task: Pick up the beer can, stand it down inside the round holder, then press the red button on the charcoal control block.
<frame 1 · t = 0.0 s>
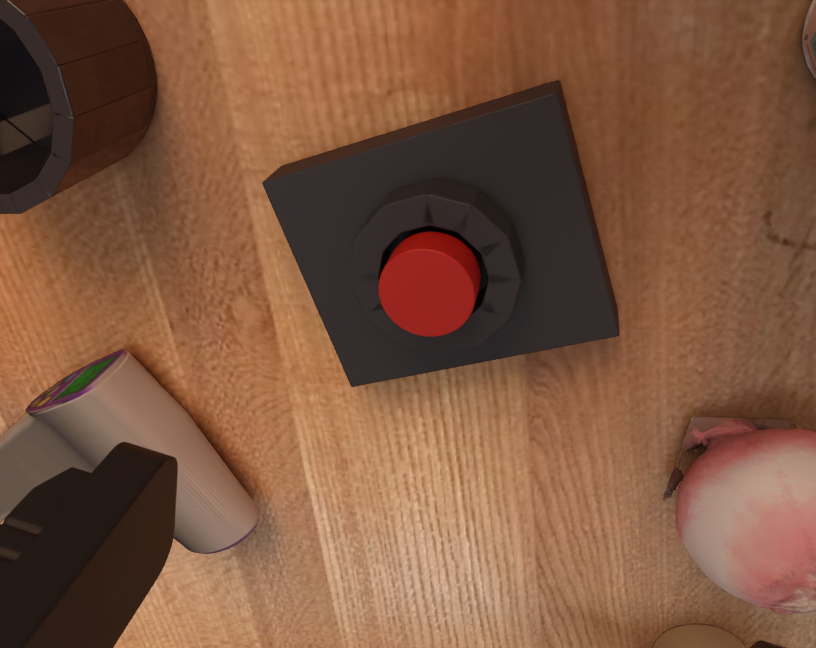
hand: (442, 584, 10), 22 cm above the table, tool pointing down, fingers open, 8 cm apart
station: (449, 238, 32), on the table
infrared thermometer: (122, 465, 43), on the table
button: (430, 284, 28), point 4 cm above the table, slide at 0.1 cm
onion: (753, 455, 34), on the table
holder: (60, 66, 32), on the table
mug: (678, 647, 41), on the table
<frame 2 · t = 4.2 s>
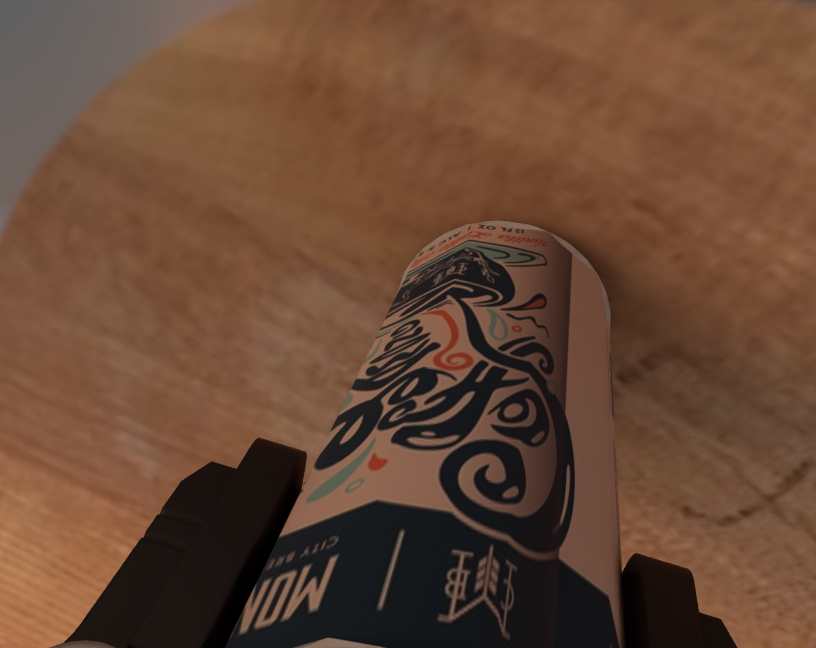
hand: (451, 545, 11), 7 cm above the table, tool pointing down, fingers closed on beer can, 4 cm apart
beer can: (503, 306, 17), on the table, touching gripper
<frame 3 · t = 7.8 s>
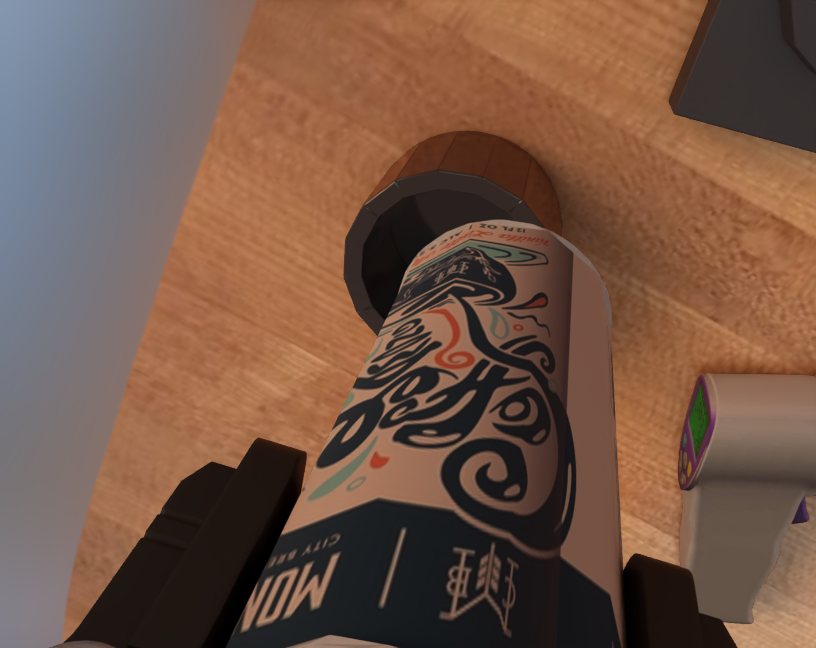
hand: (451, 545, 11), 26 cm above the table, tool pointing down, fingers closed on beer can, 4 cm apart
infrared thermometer: (794, 482, 39), on the table
holder: (467, 222, 36), on the table
beer can: (504, 305, 17), point 18 cm above the table, touching gripper
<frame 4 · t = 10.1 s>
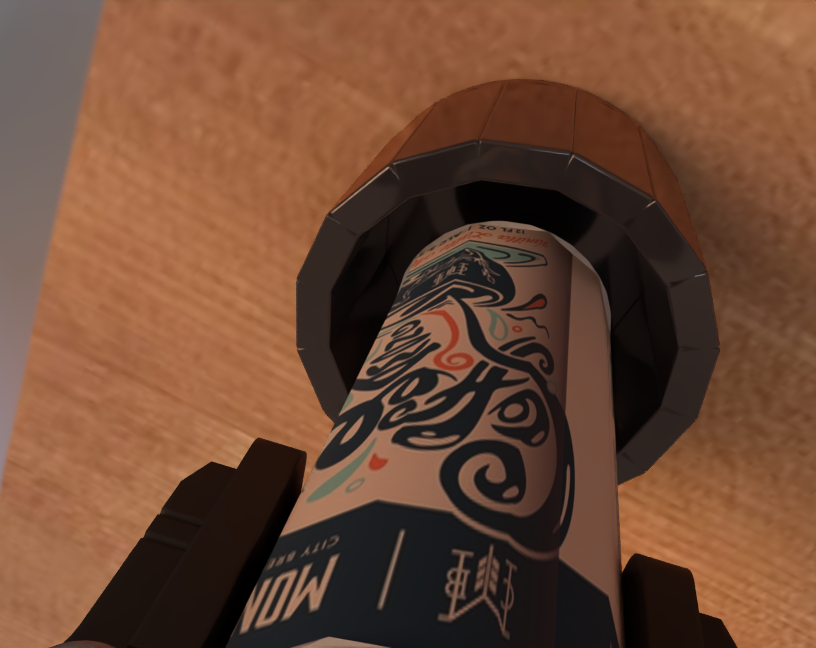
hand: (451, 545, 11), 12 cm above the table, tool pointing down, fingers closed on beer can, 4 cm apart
holder: (516, 240, 21), on the table
beer can: (503, 306, 17), point 4 cm above the table, touching gripper
when the fingers open (8 cm above the table, at t = 11.7 s): beer can stays where it is, resting on holder.
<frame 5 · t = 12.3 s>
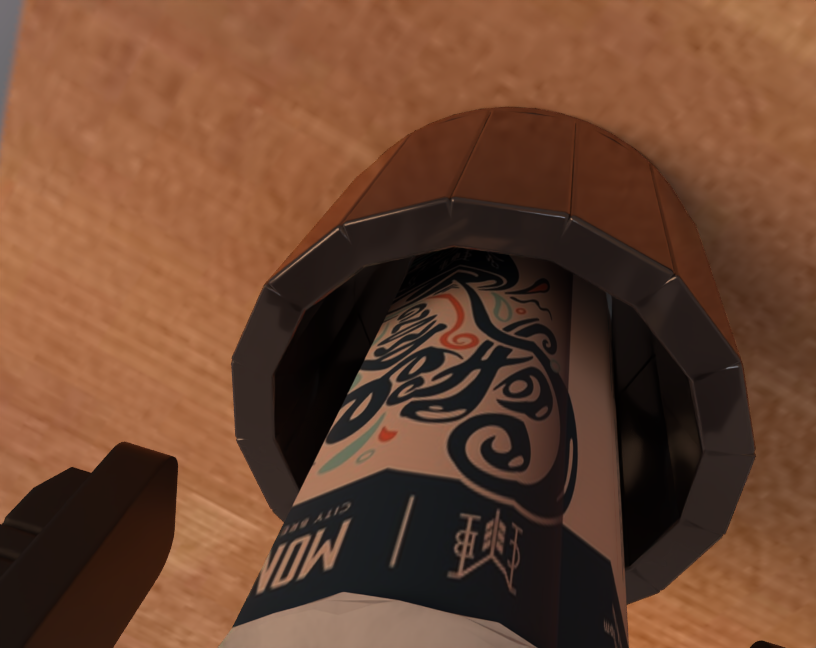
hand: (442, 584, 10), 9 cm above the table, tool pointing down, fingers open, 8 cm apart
holder: (506, 292, 18), on the table
beer can: (506, 295, 18), resting on holder
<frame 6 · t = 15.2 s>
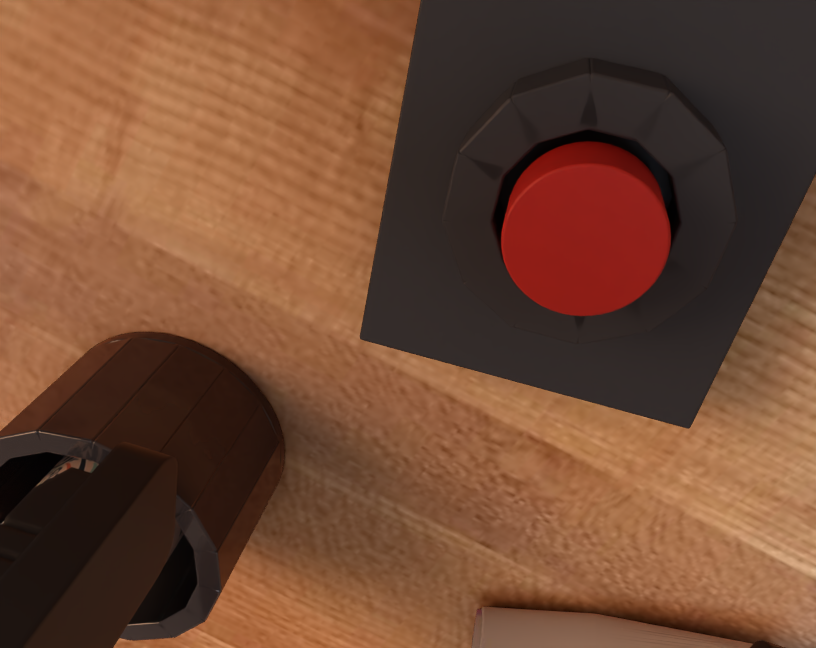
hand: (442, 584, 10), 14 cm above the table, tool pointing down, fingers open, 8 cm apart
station: (583, 169, 21), on the table
button: (583, 229, 17), point 4 cm above the table, slide at 0.1 cm
holder: (176, 430, 29), on the table
beer can: (172, 434, 28), resting on holder
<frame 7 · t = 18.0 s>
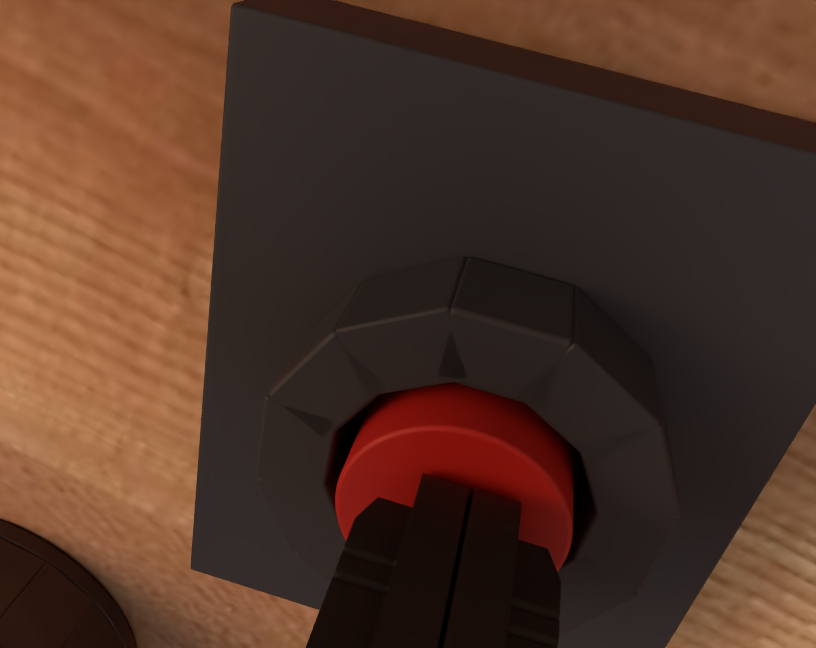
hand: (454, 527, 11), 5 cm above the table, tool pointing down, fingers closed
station: (484, 363, 15), on the table
button: (457, 486, 12), point 4 cm above the table, slide at -0.7 cm, touching gripper
holder: (4, 616, 23), on the table
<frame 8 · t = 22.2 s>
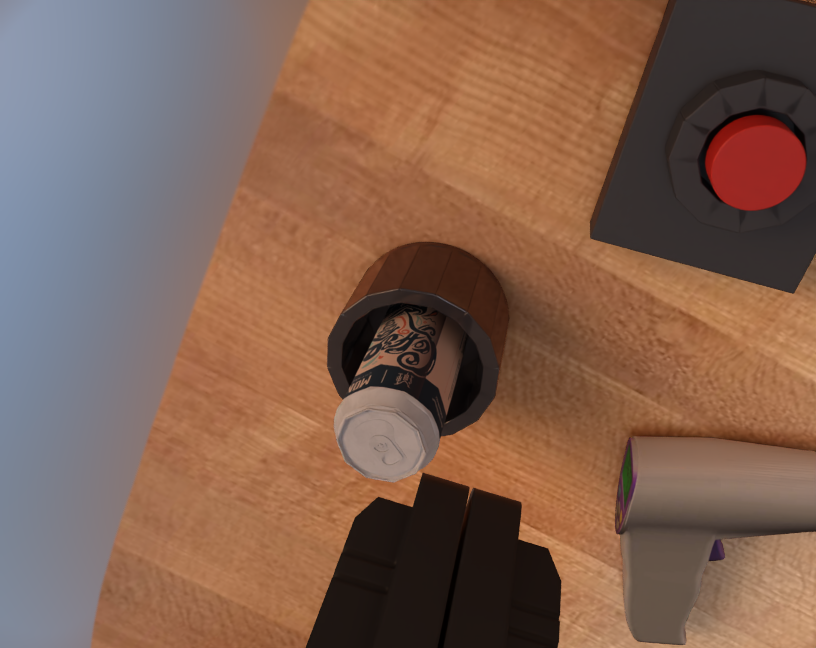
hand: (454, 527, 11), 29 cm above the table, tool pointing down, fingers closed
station: (735, 134, 35), on the table
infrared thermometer: (716, 524, 46), on the table
button: (753, 163, 31), point 4 cm above the table, slide at 0.1 cm
holder: (431, 312, 43), on the table
beer can: (431, 314, 43), resting on holder
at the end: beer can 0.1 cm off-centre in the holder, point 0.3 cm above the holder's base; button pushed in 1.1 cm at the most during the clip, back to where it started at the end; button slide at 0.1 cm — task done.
